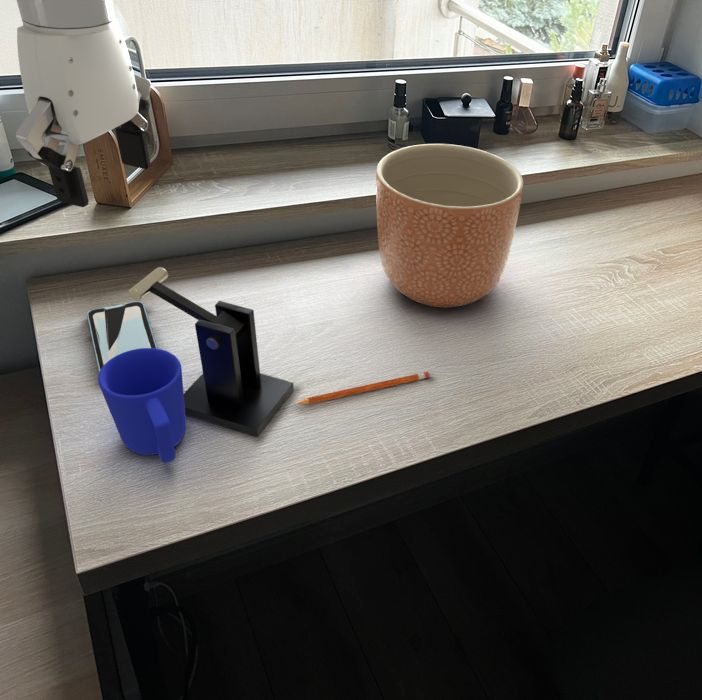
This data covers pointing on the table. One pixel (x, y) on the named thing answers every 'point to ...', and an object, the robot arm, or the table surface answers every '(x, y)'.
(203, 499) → the table surface
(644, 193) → the table surface
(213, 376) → the bracket
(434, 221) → the planter
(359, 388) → the pencil
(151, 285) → the lever
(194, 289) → the table surface
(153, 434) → the mug
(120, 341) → the smartphone
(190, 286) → the table surface
